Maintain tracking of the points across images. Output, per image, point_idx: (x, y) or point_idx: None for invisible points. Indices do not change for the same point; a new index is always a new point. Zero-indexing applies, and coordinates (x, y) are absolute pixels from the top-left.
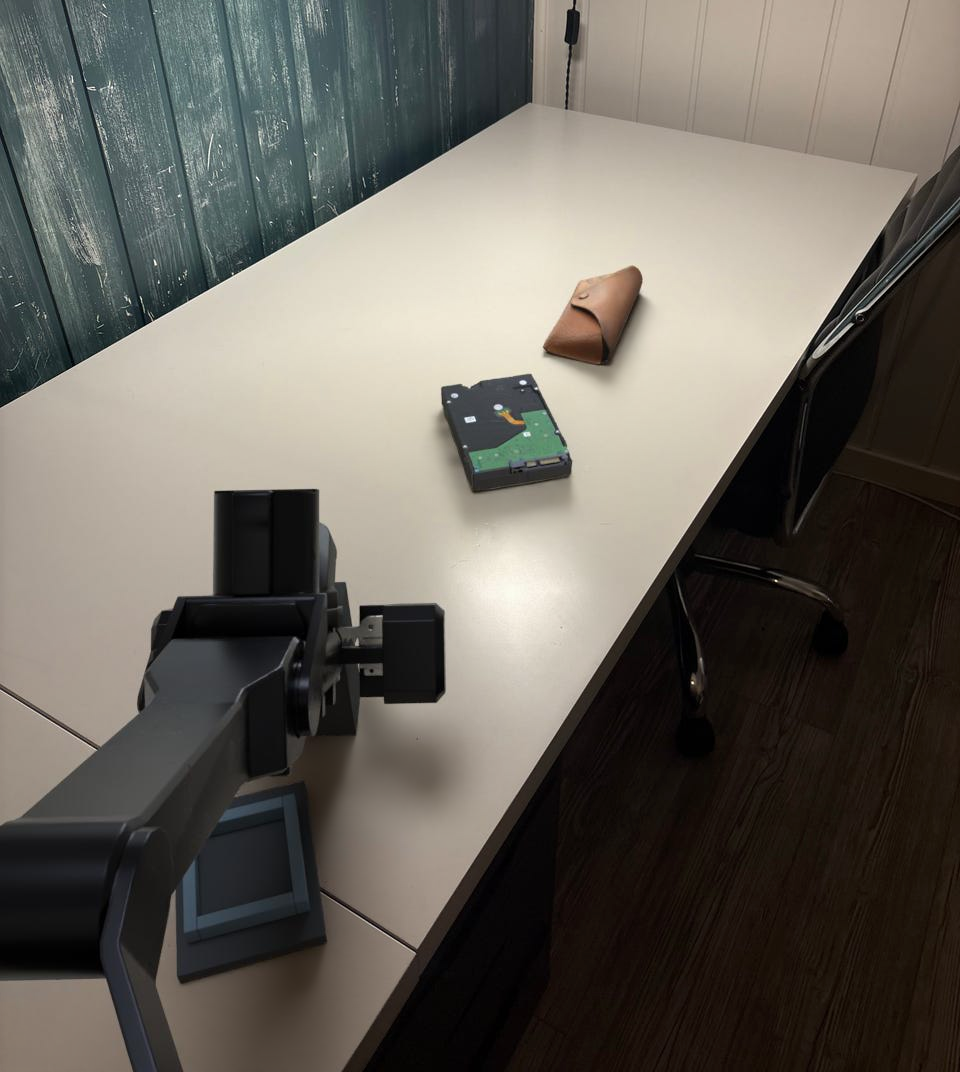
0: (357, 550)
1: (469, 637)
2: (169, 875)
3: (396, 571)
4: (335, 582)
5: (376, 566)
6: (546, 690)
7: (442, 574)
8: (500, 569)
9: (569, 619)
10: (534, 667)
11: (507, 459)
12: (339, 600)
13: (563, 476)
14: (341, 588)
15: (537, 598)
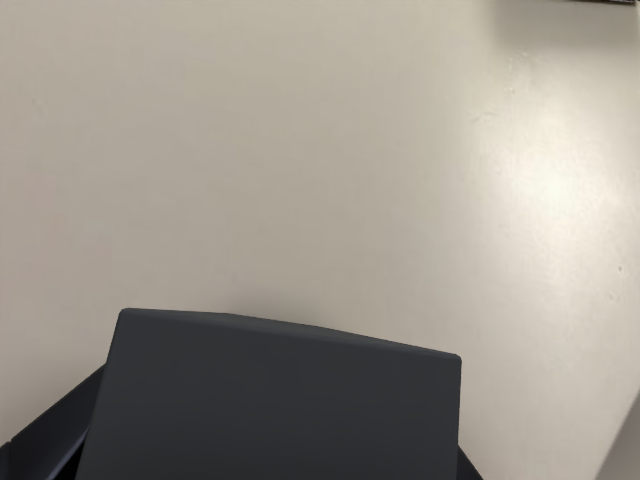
0: (332, 52)
1: (493, 261)
2: None
3: (390, 108)
4: (414, 357)
5: (360, 91)
6: (597, 383)
7: (458, 131)
8: (541, 143)
9: (631, 256)
10: (582, 336)
11: None
12: None
13: (632, 1)
14: (444, 405)
15: (589, 208)
